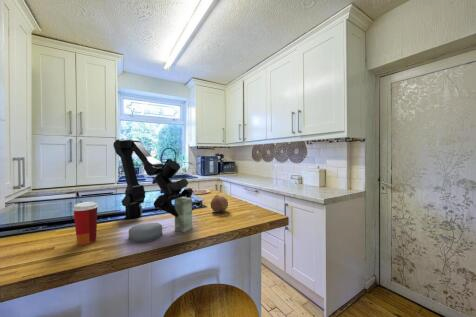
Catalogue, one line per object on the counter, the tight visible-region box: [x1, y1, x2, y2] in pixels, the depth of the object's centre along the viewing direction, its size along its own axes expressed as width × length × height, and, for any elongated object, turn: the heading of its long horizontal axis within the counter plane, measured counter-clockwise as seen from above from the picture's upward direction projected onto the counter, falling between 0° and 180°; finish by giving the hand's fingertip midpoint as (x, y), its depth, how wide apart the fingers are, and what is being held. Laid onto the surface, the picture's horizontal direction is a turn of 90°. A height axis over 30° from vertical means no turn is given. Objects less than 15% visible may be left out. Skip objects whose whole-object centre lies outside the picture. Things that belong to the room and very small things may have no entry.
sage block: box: [174, 197, 193, 233], centre depth 88 cm, size 5×5×13 cm
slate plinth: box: [128, 222, 163, 244], centre depth 82 cm, size 12×12×3 cm
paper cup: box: [71, 201, 99, 246], centre depth 76 cm, size 8×8×14 cm
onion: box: [210, 194, 229, 214], centre depth 112 cm, size 10×9×10 cm
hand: (185, 213), depth 88 cm, fingers open, 9 cm apart
